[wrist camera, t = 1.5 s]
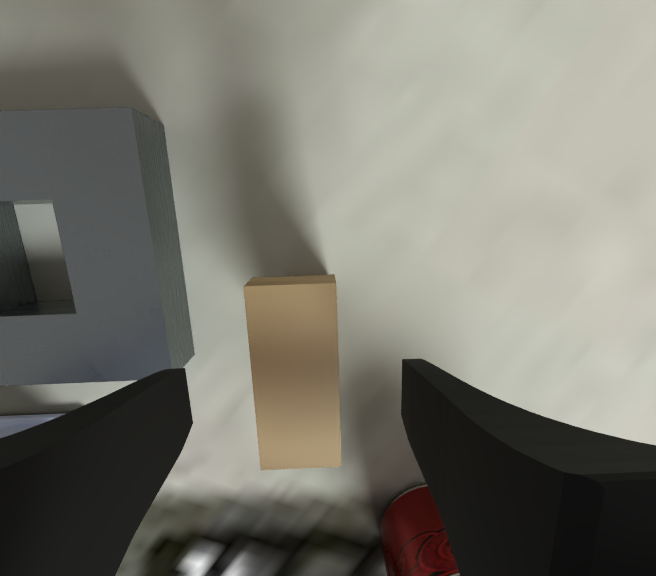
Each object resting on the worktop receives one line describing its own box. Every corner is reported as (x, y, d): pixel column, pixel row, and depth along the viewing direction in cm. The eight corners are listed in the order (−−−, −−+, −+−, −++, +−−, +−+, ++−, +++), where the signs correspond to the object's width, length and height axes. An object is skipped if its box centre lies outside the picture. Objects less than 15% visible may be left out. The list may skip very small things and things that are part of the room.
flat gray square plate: (194, 354, 20) (173, 378, 17) (-20, 363, 20) (-79, 389, 17) (163, 125, 17) (131, 107, 14) (-89, 132, 17) (-174, 116, 14)
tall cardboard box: (332, 363, 20) (341, 466, 12) (284, 365, 20) (260, 470, 12) (329, 252, 19) (336, 282, 11) (277, 254, 19) (243, 286, 10)
